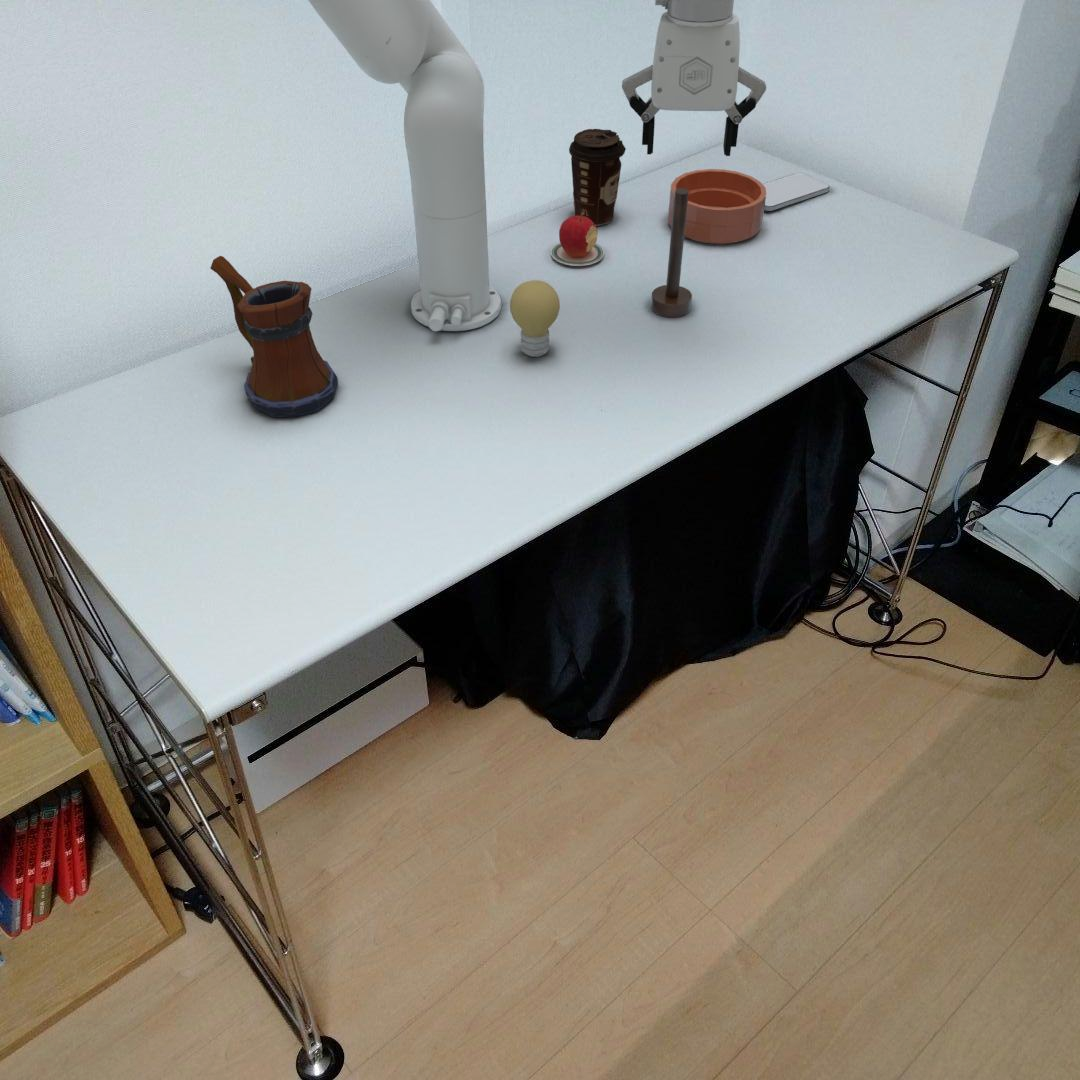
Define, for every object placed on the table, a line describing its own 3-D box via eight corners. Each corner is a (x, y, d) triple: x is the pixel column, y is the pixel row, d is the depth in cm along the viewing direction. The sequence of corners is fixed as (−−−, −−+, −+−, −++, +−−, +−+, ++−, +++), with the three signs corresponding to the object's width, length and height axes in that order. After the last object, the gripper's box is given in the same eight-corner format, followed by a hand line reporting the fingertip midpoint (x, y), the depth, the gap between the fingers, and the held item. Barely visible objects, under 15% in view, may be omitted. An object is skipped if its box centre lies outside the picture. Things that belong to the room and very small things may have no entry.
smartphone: (832, 186, 173) (768, 207, 166) (831, 193, 173) (767, 214, 167) (800, 171, 177) (736, 191, 170) (798, 178, 178) (735, 198, 171)
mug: (201, 372, 134) (172, 267, 124) (276, 338, 140) (255, 235, 130) (281, 432, 124) (257, 323, 114) (357, 393, 130) (341, 286, 120)
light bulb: (517, 368, 134) (516, 299, 128) (505, 342, 139) (504, 275, 132) (565, 361, 136) (566, 292, 129) (551, 335, 140) (552, 268, 133)
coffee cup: (622, 207, 169) (627, 127, 160) (620, 230, 163) (625, 149, 154) (569, 205, 170) (571, 125, 161) (565, 228, 163) (567, 146, 155)
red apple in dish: (602, 243, 160) (603, 202, 155) (605, 268, 154) (607, 227, 149) (550, 243, 160) (550, 203, 155) (551, 268, 154) (552, 227, 149)
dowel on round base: (691, 318, 143) (704, 201, 132) (650, 316, 144) (660, 199, 132) (690, 298, 148) (702, 182, 136) (650, 296, 148) (660, 181, 136)
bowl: (763, 248, 158) (769, 211, 154) (668, 244, 159) (671, 207, 155) (757, 206, 169) (762, 170, 165) (667, 203, 170) (670, 167, 166)
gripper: (624, 13, 117) (618, 161, 128) (779, 14, 116) (759, 164, 127) (625, -7, 122) (620, 138, 134) (774, -5, 121) (755, 140, 133)
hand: (688, 151), depth 131 cm, fingers open, 9 cm apart
